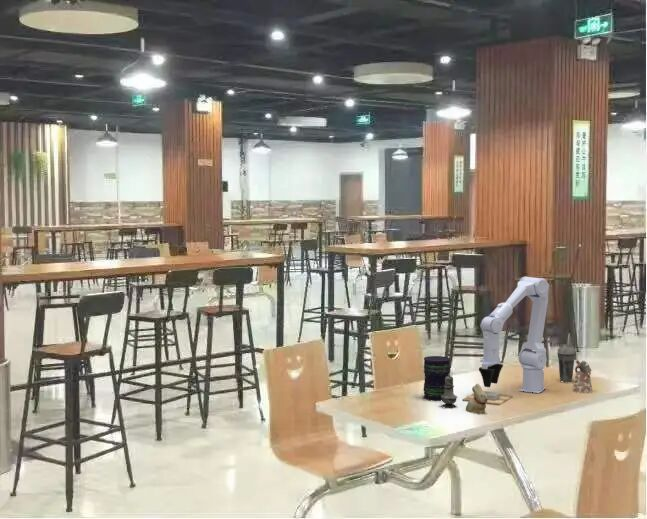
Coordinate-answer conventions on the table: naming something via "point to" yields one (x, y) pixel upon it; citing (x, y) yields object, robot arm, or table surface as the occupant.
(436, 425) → the table surface
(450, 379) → the salt shaker
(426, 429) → the table surface
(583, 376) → the figurine
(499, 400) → the wooden board
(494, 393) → the tile
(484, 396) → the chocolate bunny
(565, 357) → the beverage cup
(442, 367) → the storage jar
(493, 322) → the robot arm
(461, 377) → the table surface
